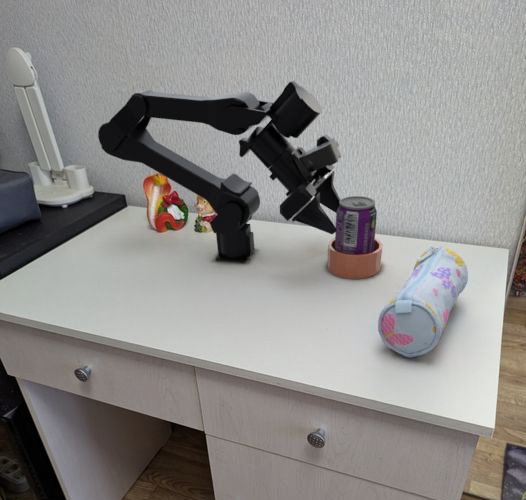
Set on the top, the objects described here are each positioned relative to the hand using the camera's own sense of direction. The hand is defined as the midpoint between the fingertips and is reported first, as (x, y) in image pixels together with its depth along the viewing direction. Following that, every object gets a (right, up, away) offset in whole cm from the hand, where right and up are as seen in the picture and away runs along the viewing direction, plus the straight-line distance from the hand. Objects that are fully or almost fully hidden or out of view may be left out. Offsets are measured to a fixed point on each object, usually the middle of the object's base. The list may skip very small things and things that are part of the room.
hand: (339, 222), depth 89 cm
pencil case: (+11, -19, -13) cm, 26 cm away
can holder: (+3, -7, +4) cm, 9 cm away
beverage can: (+3, -7, +4) cm, 9 cm away
